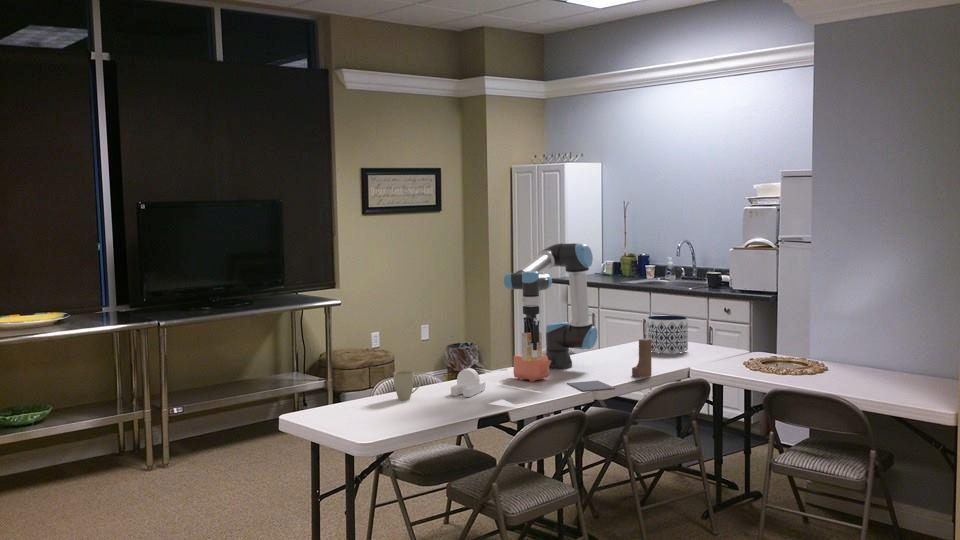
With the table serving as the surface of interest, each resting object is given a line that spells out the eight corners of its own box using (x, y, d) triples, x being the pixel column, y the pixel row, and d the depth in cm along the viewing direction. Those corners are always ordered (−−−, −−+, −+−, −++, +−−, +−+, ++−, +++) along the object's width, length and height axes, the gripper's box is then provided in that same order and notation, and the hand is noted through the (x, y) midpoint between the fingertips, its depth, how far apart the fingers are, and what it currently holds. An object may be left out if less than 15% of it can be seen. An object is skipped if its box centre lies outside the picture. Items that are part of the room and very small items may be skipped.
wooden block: (638, 378, 419) (638, 341, 418) (631, 376, 423) (631, 340, 421) (651, 376, 424) (651, 339, 423) (645, 374, 428) (645, 338, 426)
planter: (647, 356, 481) (647, 320, 480) (646, 349, 503) (646, 315, 502) (689, 356, 477) (689, 320, 476) (686, 350, 499) (686, 315, 498)
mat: (566, 384, 407) (566, 383, 407) (597, 381, 412) (597, 380, 412) (583, 391, 390) (583, 390, 390) (615, 388, 395) (615, 387, 395)
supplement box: (526, 362, 390) (526, 334, 389) (521, 361, 395) (520, 332, 394) (542, 360, 394) (542, 332, 393) (537, 359, 399) (536, 331, 397)
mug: (408, 402, 373) (407, 375, 372) (389, 400, 378) (389, 373, 377) (422, 397, 382) (422, 371, 381) (404, 395, 387) (404, 369, 386)
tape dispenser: (450, 395, 388) (449, 371, 387) (467, 387, 404) (467, 364, 403) (469, 397, 384) (468, 373, 383) (486, 389, 400) (486, 366, 399)
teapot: (558, 381, 414) (558, 352, 413) (541, 385, 405) (541, 355, 404) (523, 376, 429) (522, 347, 428) (506, 379, 420) (506, 351, 419)
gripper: (516, 303, 400) (517, 353, 402) (530, 308, 383) (531, 360, 384) (531, 302, 402) (532, 352, 404) (546, 307, 385) (547, 358, 387)
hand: (531, 355), depth 394 cm, fingers closed on supplement box, 5 cm apart
